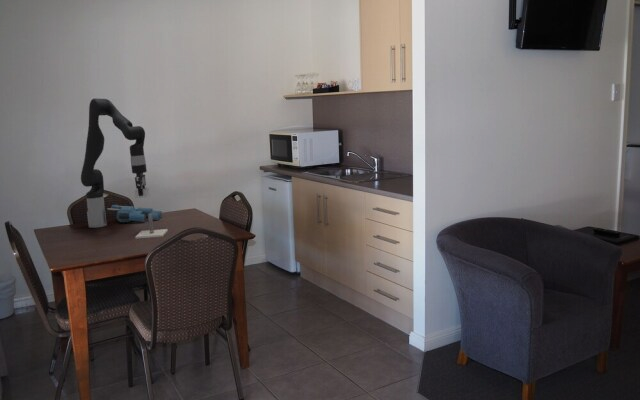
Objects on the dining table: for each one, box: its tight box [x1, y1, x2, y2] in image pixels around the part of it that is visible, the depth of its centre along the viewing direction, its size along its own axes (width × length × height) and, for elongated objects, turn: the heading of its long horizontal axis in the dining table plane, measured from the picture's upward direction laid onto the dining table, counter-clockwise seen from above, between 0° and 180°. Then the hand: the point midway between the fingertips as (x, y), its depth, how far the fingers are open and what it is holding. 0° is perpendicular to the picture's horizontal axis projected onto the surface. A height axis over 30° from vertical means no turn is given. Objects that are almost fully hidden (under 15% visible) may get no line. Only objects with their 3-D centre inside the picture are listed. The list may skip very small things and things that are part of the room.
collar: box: [134, 187, 150, 199], centre depth 305 cm, size 6×6×4 cm
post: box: [135, 214, 169, 239], centre depth 300 cm, size 14×14×11 cm
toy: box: [106, 204, 163, 223], centre depth 344 cm, size 22×9×30 cm
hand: (142, 194), depth 305 cm, fingers closed on collar, 6 cm apart
